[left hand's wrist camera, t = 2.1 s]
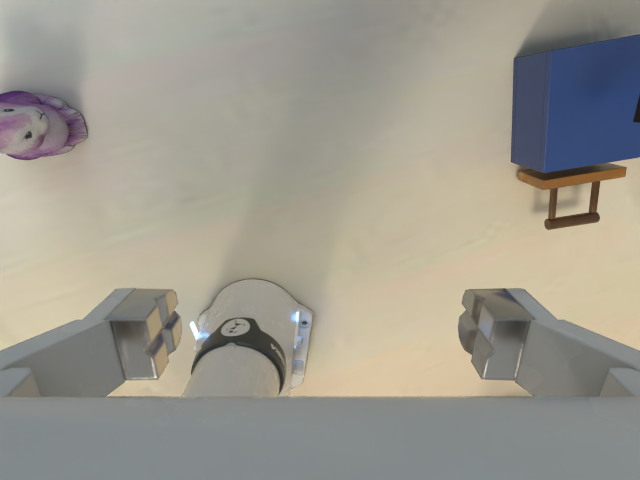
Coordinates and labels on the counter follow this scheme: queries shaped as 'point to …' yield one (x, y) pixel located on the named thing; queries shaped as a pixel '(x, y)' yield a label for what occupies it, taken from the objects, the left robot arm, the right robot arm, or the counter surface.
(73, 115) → the figurine
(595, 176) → the wooden drawer
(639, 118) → the right robot arm
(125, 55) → the counter surface
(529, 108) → the blue square-sided box
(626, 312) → the counter surface
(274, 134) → the counter surface
